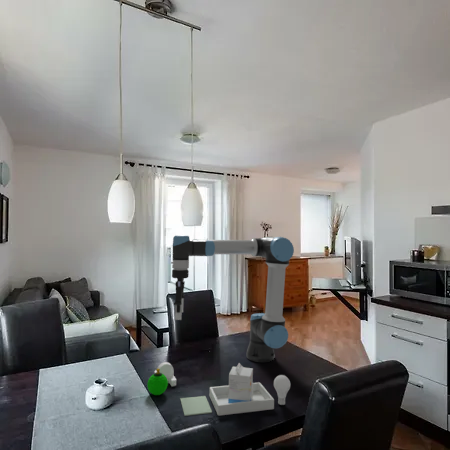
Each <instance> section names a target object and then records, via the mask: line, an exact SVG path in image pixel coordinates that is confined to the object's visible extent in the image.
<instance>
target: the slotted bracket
mask: <svg viewBox="0 0 450 450" xmlns="http://www.w3.org/2000/svg"><path fill="white" fill-rule="evenodd" d="M158 368H159V369H160V371H159V372H160V373H162V374H164V375H165V376H166V378H167V381H168V384H170V386H171V387H176V386H177V378H176V376H174V374H175V373H174V367H173V365H172V364H171V363H170V362H168V361H164V362H161V363H159V365H158V366H157V368H156V369H158ZM156 369H155V370H154V372H153V373H154V374H155V373H156V372H157V370H156Z"/></svg>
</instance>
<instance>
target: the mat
mask: <svg viewBox="0 0 450 450" xmlns="http://www.w3.org/2000/svg"><path fill="white" fill-rule="evenodd" d="M179 399H180V404H181V407H182V411H183V415H184V416H185V417H187V416H196V415H203V414H212V413H213V410H212V407H211V406H210V403H209V401H208V399H207V397H206V395H200V396H192V397H180V398H179Z"/></svg>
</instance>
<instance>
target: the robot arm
mask: <svg viewBox="0 0 450 450" xmlns="http://www.w3.org/2000/svg"><path fill="white" fill-rule="evenodd" d="M171 247H172V261H171V262H170V264H171V266H172V270H171V278H172V279H176V281H175V284H174V285H175V302H173V305H175V306H174V307H175V309H174V312H175V313H174V321H182V315H183V314H182V313H184V300H185V298H186V296H185V294H184V293H185V292H184V291H185V290H184V289H185V281H184V279H188V278H189V275H190V274H189V273H190V270H189V267H190V257H213V256H214V255H251V256H252V257H260V258H265V264H266V266H267V280H266V281H267V284H266V297H265V310H264V312H261V313H260V312H259V313H253V314H251V315H250V321H249V322H250V323H249V324H250V325H249V344H248V346H247V350H246V359H248V360H249V361H251V362H255V363H270V361H271V362H273V361H275V359H276V358H275V357H276V355H275V350H274V349H280V348H282V347H283V346H284V345H286V344H287V341H288V339H289V331H288V329H287V328H286V327H285V326H286V318H284V316H283V313H284V312H283V309H284V296H285V282H286V281H285V279H286V268H287V267H288V266H290V260H291V258H293V255H294V253H295V251H294V248H295V247H294V245H293V243H292V242H291V240H290V239H288V238H286V237H284V236H267V237H259V238H258V237H256V238H255V237H254V238H252V239H197V238H196V239H195V238H194V239H190V236H189V235H174V236H173V239H172V246H171ZM274 358H275V359H274ZM272 360H273V361H272Z"/></svg>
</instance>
